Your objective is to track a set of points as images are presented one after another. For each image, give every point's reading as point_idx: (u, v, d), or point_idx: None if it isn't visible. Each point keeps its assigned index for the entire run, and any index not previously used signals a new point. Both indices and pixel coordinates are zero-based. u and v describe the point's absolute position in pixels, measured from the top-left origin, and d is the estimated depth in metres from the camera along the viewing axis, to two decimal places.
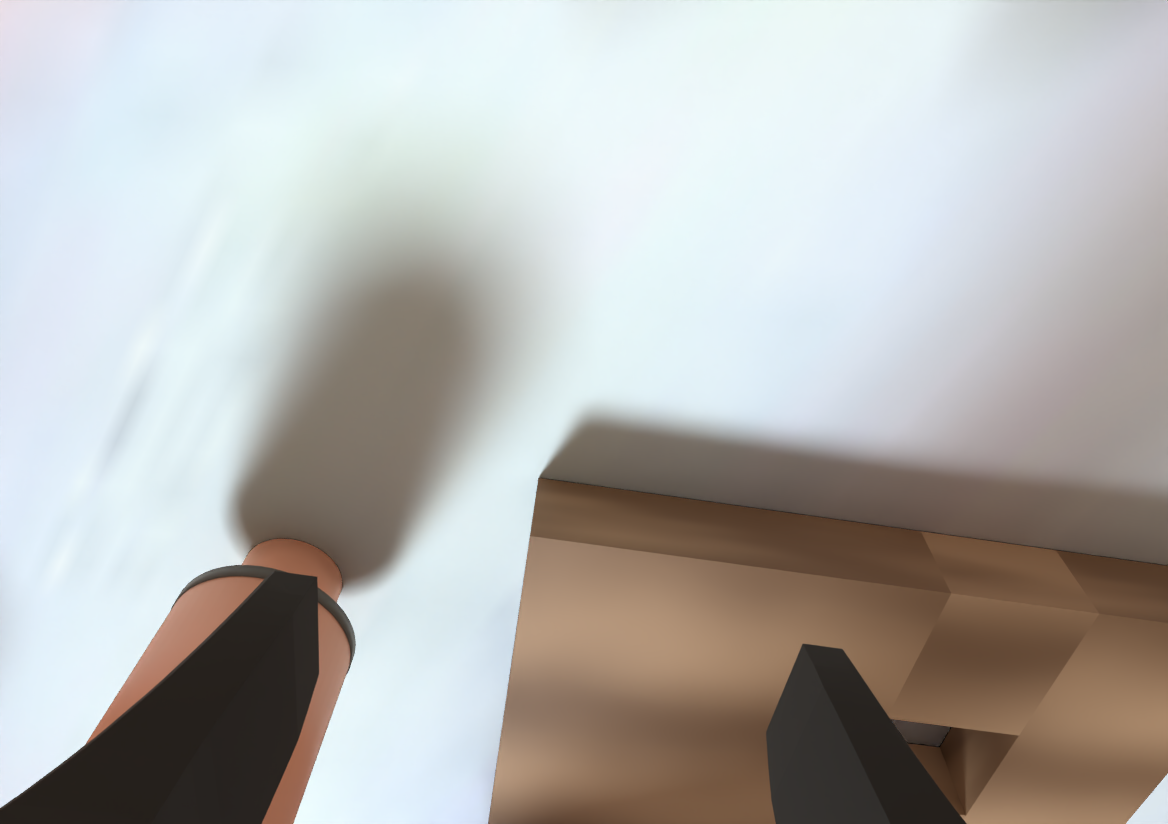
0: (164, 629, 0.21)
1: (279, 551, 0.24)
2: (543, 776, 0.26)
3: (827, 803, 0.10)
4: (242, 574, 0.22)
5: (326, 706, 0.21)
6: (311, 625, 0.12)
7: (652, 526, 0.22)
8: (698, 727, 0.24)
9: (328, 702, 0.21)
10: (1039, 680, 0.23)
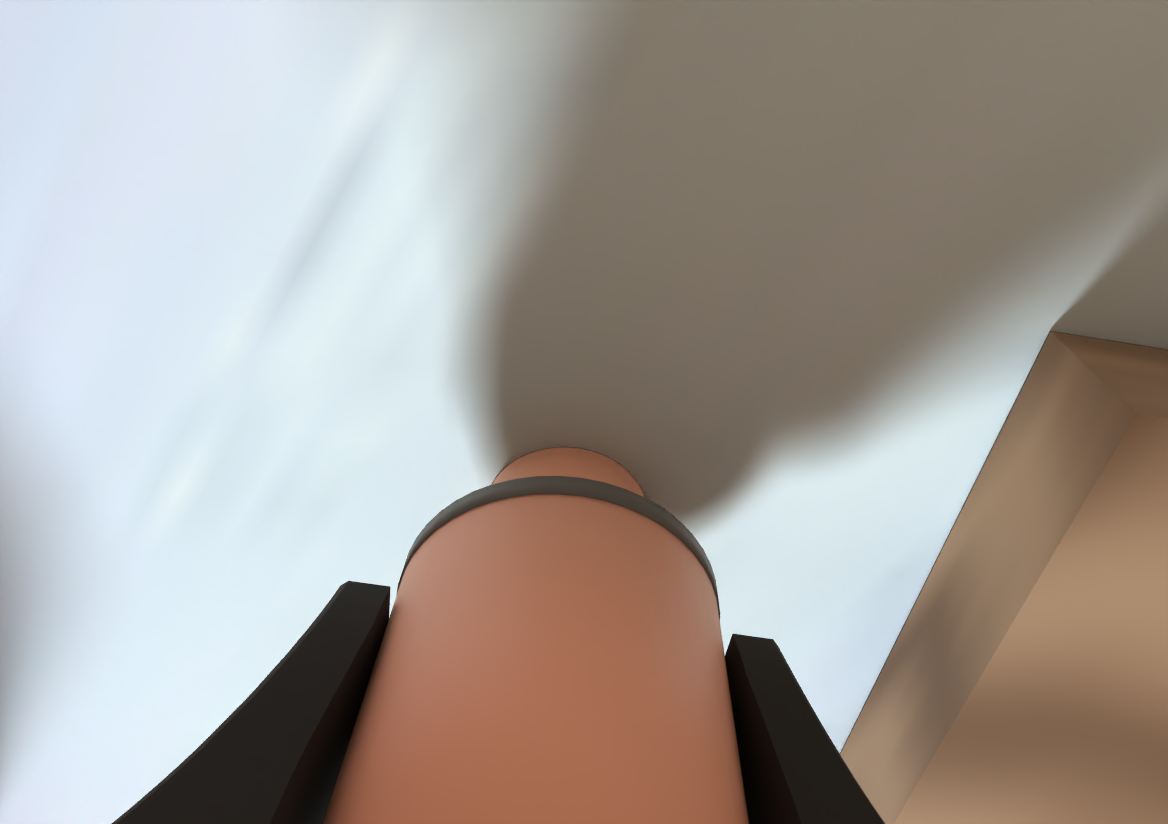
0: (434, 589, 0.11)
1: (569, 466, 0.14)
2: None
3: (747, 793, 0.10)
4: (557, 491, 0.12)
5: None
6: (383, 635, 0.12)
7: None
8: None
9: None
10: None
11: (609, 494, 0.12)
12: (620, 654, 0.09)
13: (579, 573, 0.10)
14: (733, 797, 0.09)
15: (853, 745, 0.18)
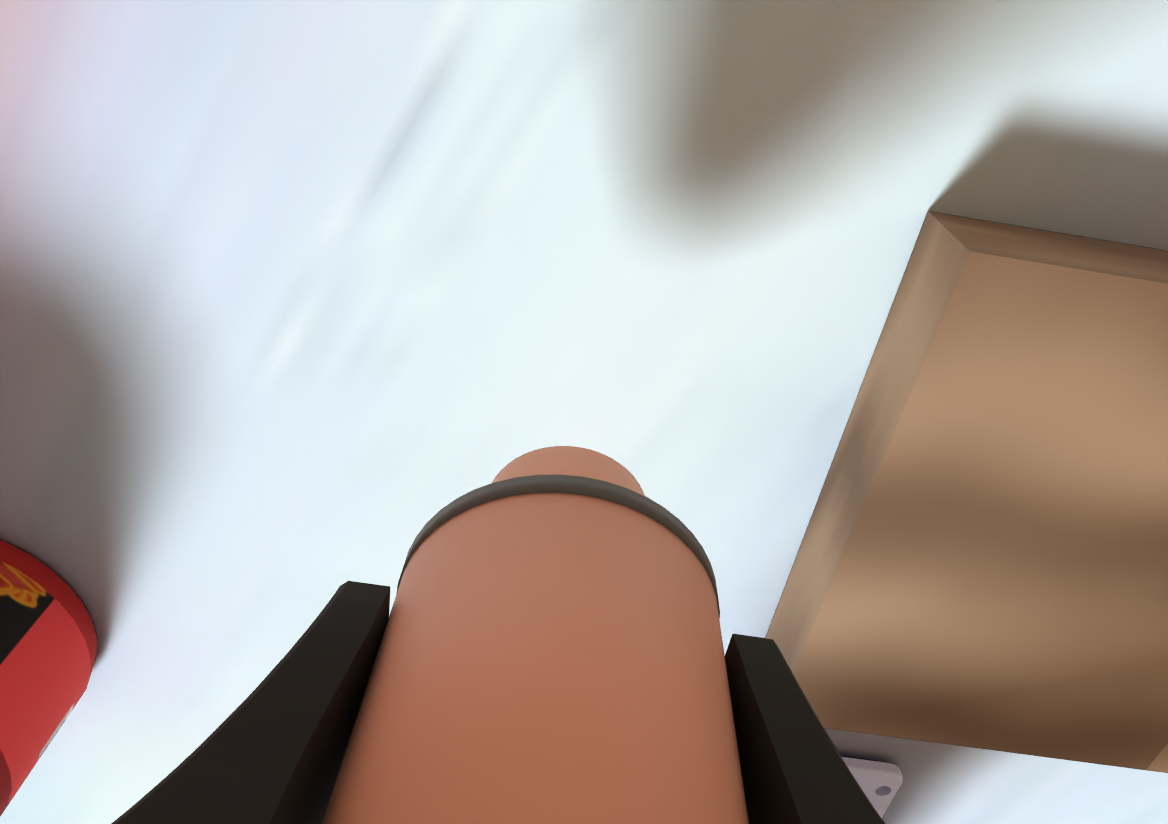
0: (434, 587, 0.11)
1: (569, 465, 0.14)
2: (877, 618, 0.21)
3: (747, 793, 0.10)
4: (557, 489, 0.12)
5: None
6: None
7: (1098, 257, 0.17)
8: (1096, 545, 0.19)
9: None
10: None
11: (609, 492, 0.12)
12: (620, 652, 0.09)
13: (579, 571, 0.10)
14: (733, 795, 0.09)
15: (800, 558, 0.23)
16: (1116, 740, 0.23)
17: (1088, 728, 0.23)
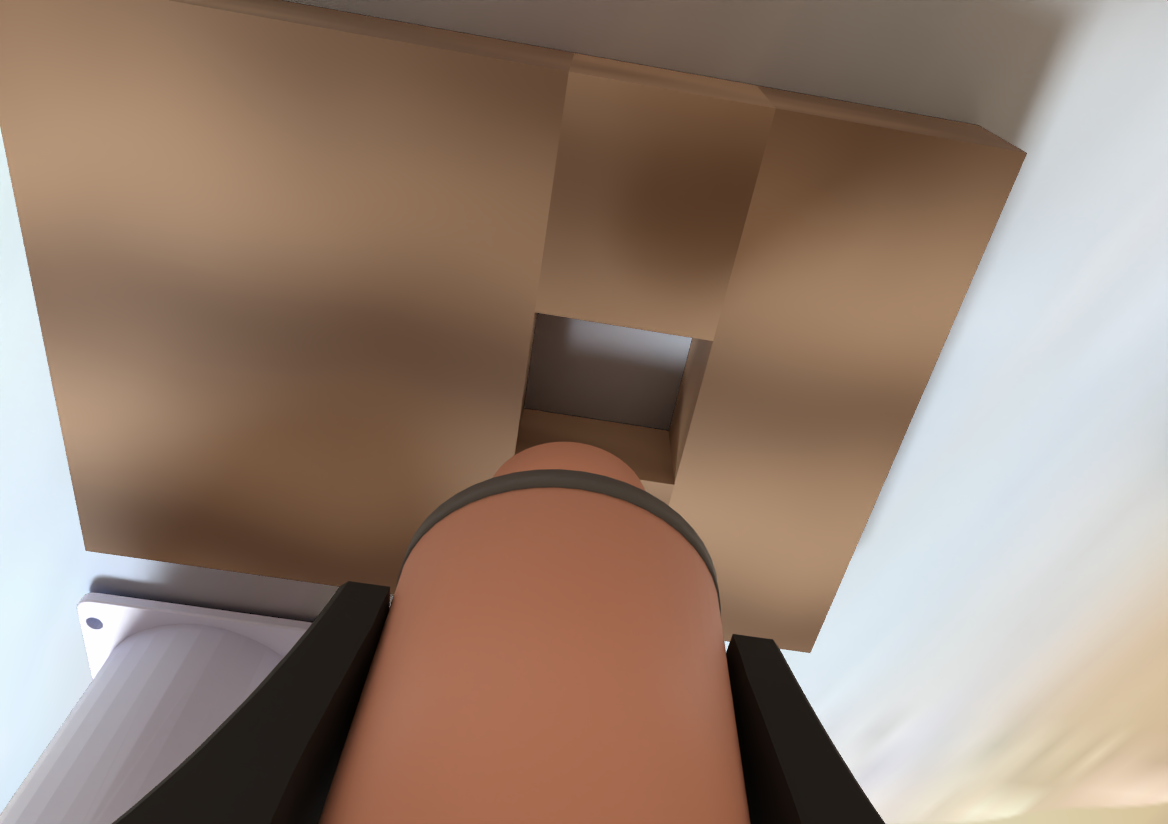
0: (432, 582, 0.11)
1: (569, 460, 0.14)
2: (122, 423, 0.20)
3: (747, 793, 0.10)
4: (556, 484, 0.12)
5: None
6: None
7: None
8: (295, 332, 0.18)
9: None
10: (719, 238, 0.17)
11: (608, 487, 0.12)
12: (619, 647, 0.09)
13: (578, 566, 0.10)
14: (734, 790, 0.09)
15: None
16: None
17: None
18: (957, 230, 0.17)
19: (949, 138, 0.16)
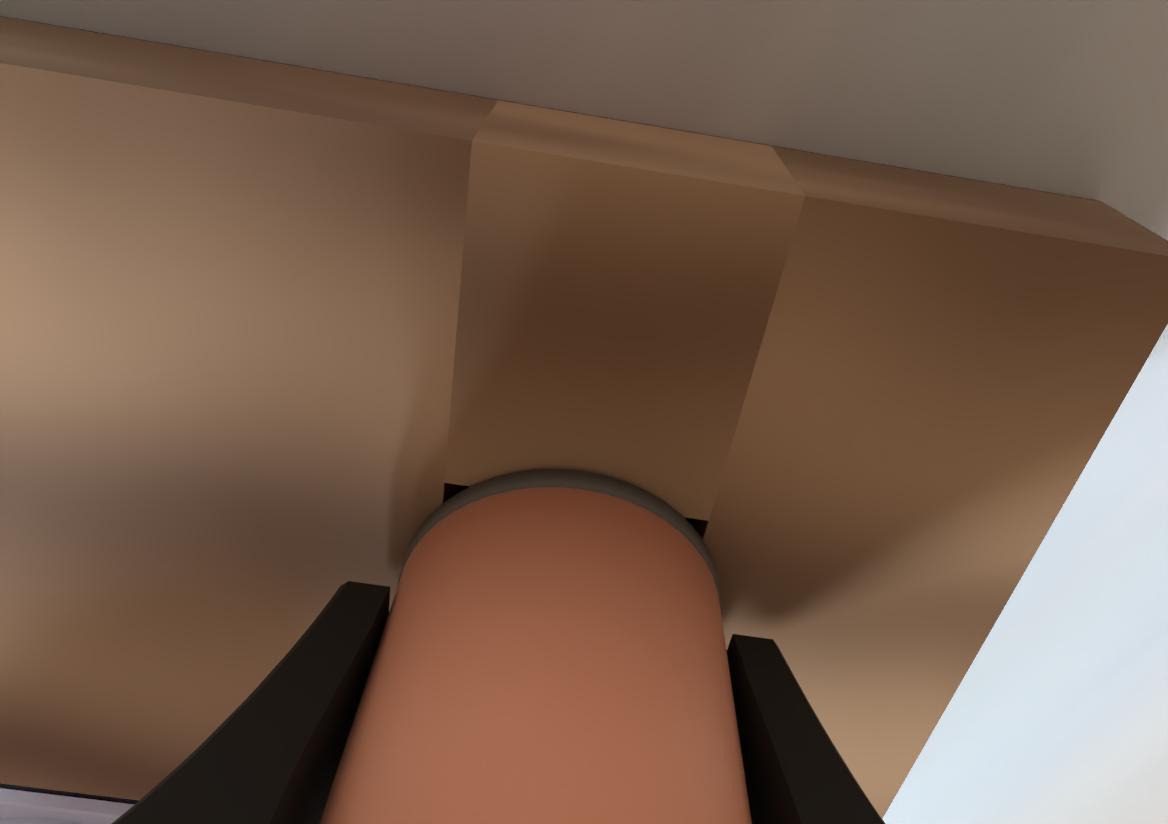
0: (433, 582, 0.11)
1: None
2: None
3: None
4: (557, 483, 0.12)
5: None
6: None
7: None
8: (98, 508, 0.13)
9: None
10: (717, 384, 0.11)
11: (609, 487, 0.12)
12: (621, 647, 0.09)
13: (579, 565, 0.10)
14: (735, 790, 0.09)
15: None
16: None
17: None
18: (1083, 373, 0.11)
19: (1079, 239, 0.10)
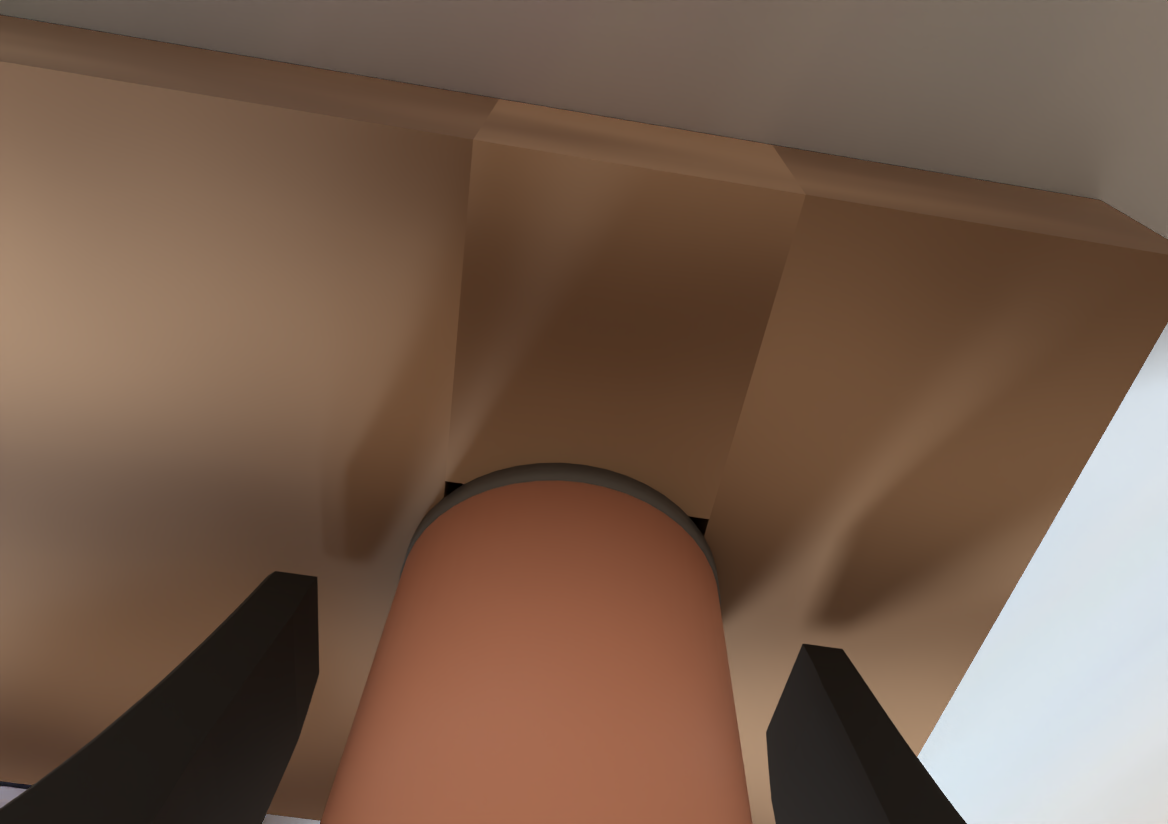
0: (436, 574, 0.11)
1: None
2: None
3: (827, 803, 0.10)
4: (558, 477, 0.12)
5: None
6: (311, 625, 0.12)
7: None
8: (100, 506, 0.13)
9: None
10: (717, 382, 0.11)
11: (610, 480, 0.12)
12: (621, 636, 0.09)
13: (580, 558, 0.10)
14: (734, 777, 0.09)
15: None
16: None
17: (296, 775, 0.16)
18: (1084, 372, 0.11)
19: (1080, 238, 0.10)
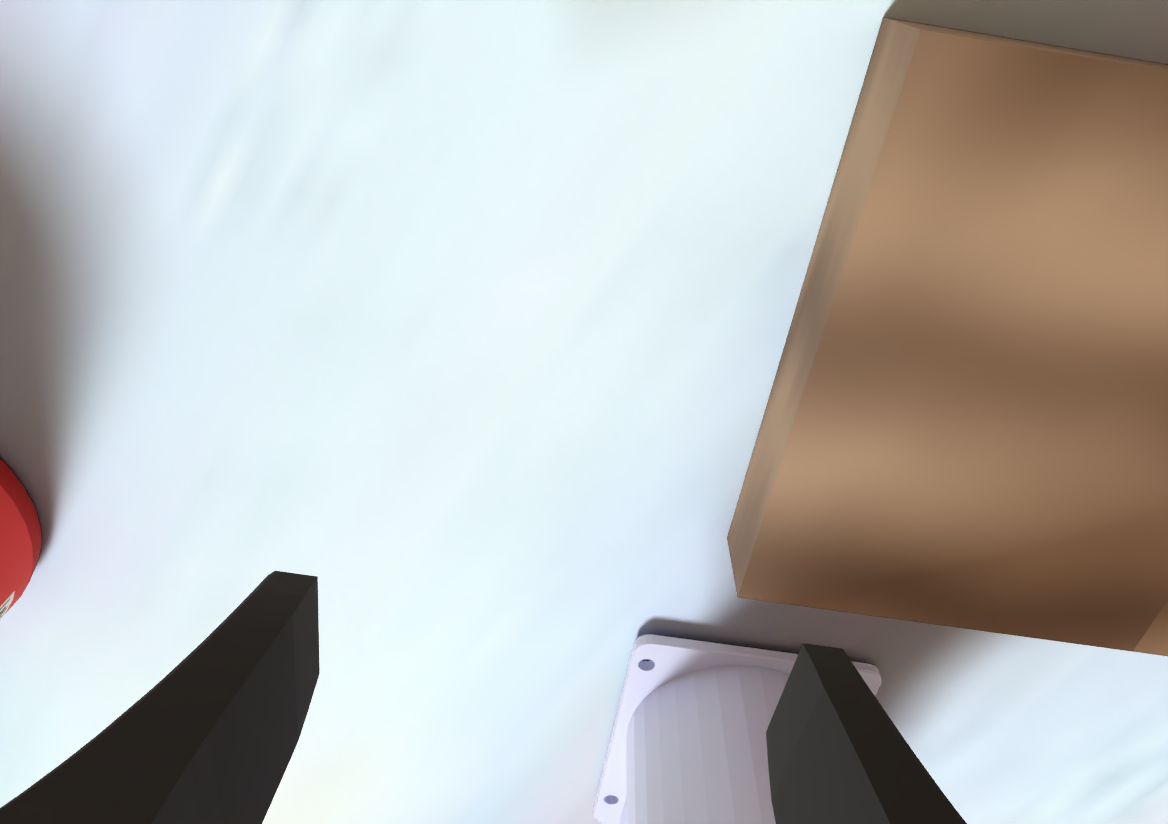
0: None
1: None
2: (841, 473, 0.20)
3: (827, 803, 0.10)
4: None
5: None
6: (311, 625, 0.12)
7: (1062, 50, 0.16)
8: (1070, 382, 0.18)
9: None
10: None
11: None
12: None
13: None
14: None
15: (764, 424, 0.22)
16: (1100, 615, 0.22)
17: (1070, 602, 0.22)
18: None
19: None
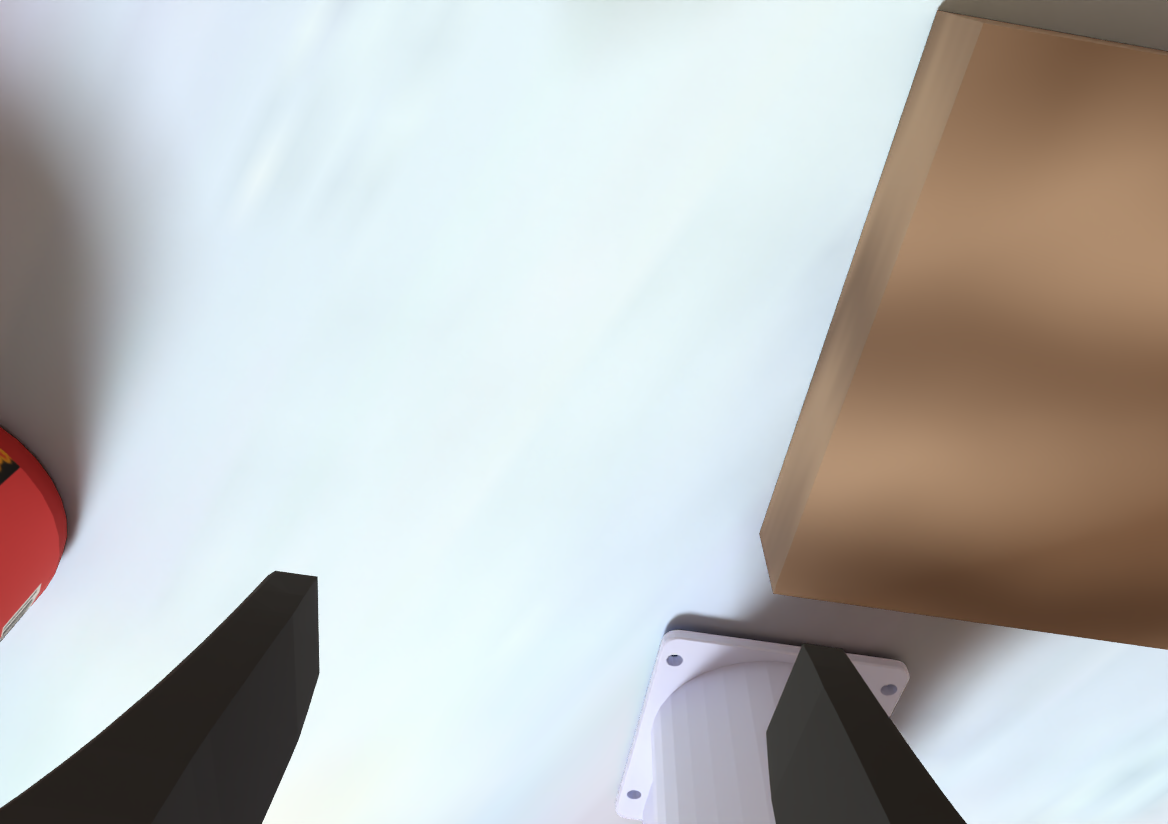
0: None
1: None
2: (883, 470, 0.20)
3: (827, 803, 0.10)
4: None
5: None
6: (311, 625, 0.12)
7: (1120, 45, 0.16)
8: (1116, 381, 0.18)
9: None
10: None
11: None
12: None
13: None
14: None
15: (802, 420, 0.22)
16: (1135, 614, 0.22)
17: (1106, 600, 0.22)
18: None
19: None
